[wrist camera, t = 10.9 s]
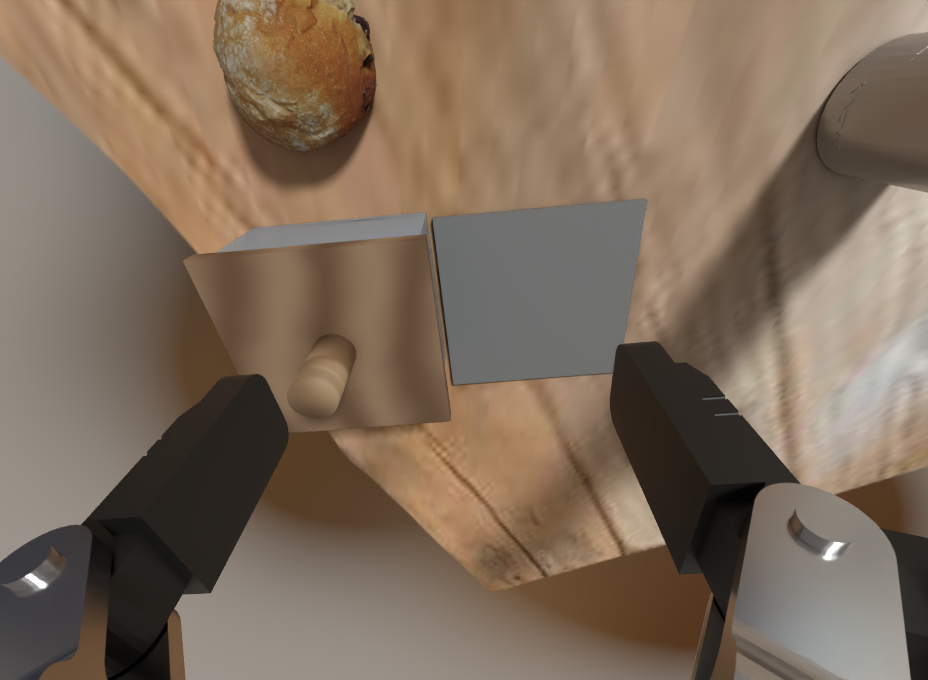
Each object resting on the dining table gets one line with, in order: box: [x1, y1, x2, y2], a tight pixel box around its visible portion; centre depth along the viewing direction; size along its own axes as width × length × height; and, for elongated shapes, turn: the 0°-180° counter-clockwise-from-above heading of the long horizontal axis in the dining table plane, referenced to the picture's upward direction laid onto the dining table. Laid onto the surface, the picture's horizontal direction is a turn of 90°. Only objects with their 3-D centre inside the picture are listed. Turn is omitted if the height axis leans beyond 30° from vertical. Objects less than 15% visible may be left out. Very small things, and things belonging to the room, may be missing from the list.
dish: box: [216, 212, 445, 365], centre depth 34 cm, size 15×15×8 cm
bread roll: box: [213, 0, 376, 152], centre depth 26 cm, size 10×10×8 cm
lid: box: [183, 234, 451, 433], centre depth 28 cm, size 16×16×7 cm
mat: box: [433, 199, 647, 385], centre depth 38 cm, size 18×18×1 cm
